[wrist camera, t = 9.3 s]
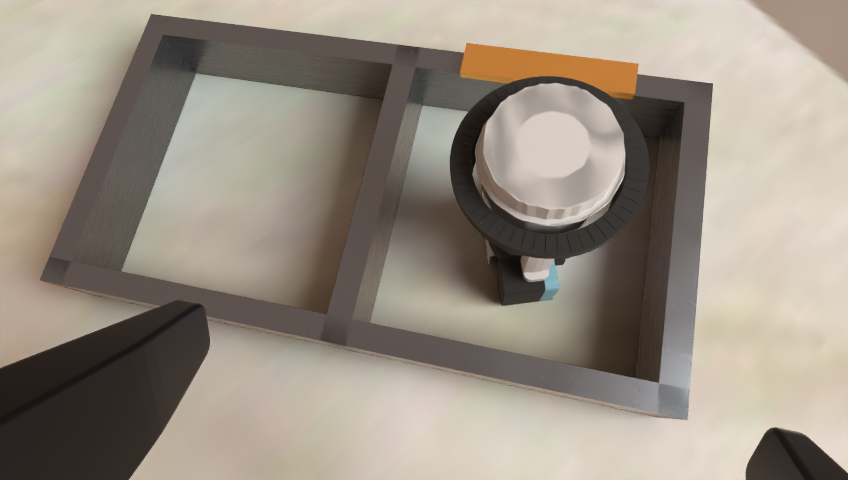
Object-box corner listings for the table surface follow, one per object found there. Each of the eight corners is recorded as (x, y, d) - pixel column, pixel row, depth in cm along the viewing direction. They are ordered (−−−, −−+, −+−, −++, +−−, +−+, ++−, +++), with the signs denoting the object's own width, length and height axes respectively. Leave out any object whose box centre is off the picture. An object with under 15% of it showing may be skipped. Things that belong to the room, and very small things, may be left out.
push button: (449, 175, 24) (431, 29, 15) (565, 159, 24) (624, -1, 14) (468, 318, 22) (462, 257, 13) (595, 303, 22) (686, 228, 12)
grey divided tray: (658, 417, 21) (692, 420, 17) (91, 294, 24) (31, 278, 21) (685, 117, 24) (717, 73, 21) (186, 50, 28) (147, 4, 25)
